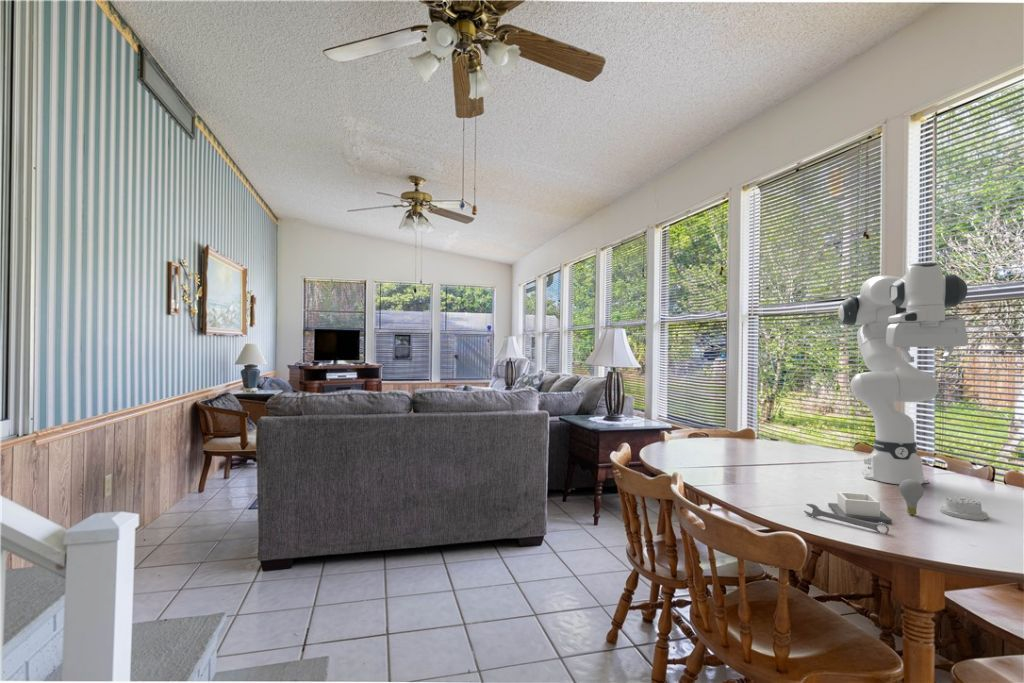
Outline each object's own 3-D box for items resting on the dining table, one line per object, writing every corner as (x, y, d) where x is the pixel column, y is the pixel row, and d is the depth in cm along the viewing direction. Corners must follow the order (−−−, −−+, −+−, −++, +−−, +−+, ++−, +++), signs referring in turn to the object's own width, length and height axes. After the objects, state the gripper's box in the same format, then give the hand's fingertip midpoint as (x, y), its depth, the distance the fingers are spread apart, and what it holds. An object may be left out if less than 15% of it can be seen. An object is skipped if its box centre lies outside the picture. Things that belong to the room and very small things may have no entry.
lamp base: (828, 506, 147) (827, 489, 147) (875, 510, 143) (875, 492, 143) (839, 519, 136) (839, 501, 136) (891, 523, 132) (891, 505, 132)
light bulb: (920, 519, 135) (919, 483, 135) (896, 514, 139) (895, 479, 140) (927, 515, 138) (926, 480, 138) (904, 510, 142) (902, 476, 143)
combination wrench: (889, 522, 125) (805, 501, 141) (888, 523, 124) (803, 502, 140) (889, 536, 125) (805, 514, 141) (888, 538, 124) (803, 515, 140)
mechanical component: (943, 507, 146) (936, 514, 139) (943, 492, 146) (936, 499, 139) (990, 515, 138) (985, 523, 132) (989, 499, 138) (984, 507, 132)
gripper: (956, 316, 148) (958, 361, 147) (882, 317, 151) (883, 362, 150) (972, 314, 141) (974, 362, 141) (895, 316, 144) (896, 362, 144)
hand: (927, 362), depth 146 cm, fingers open, 8 cm apart
